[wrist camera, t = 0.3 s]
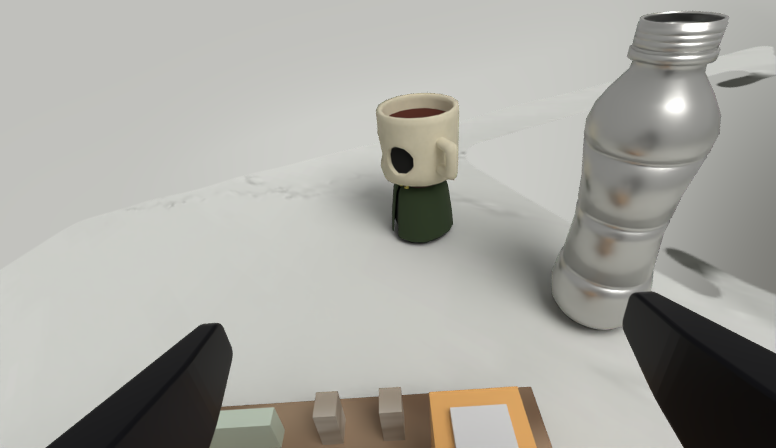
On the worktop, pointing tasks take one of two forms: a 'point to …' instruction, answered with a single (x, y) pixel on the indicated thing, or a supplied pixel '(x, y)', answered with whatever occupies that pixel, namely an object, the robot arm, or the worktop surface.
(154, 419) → the robot arm
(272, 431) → the bracket
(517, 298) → the worktop surface
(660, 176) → the plastic bottle
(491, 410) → the orange upright block
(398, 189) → the character mug
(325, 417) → the board
